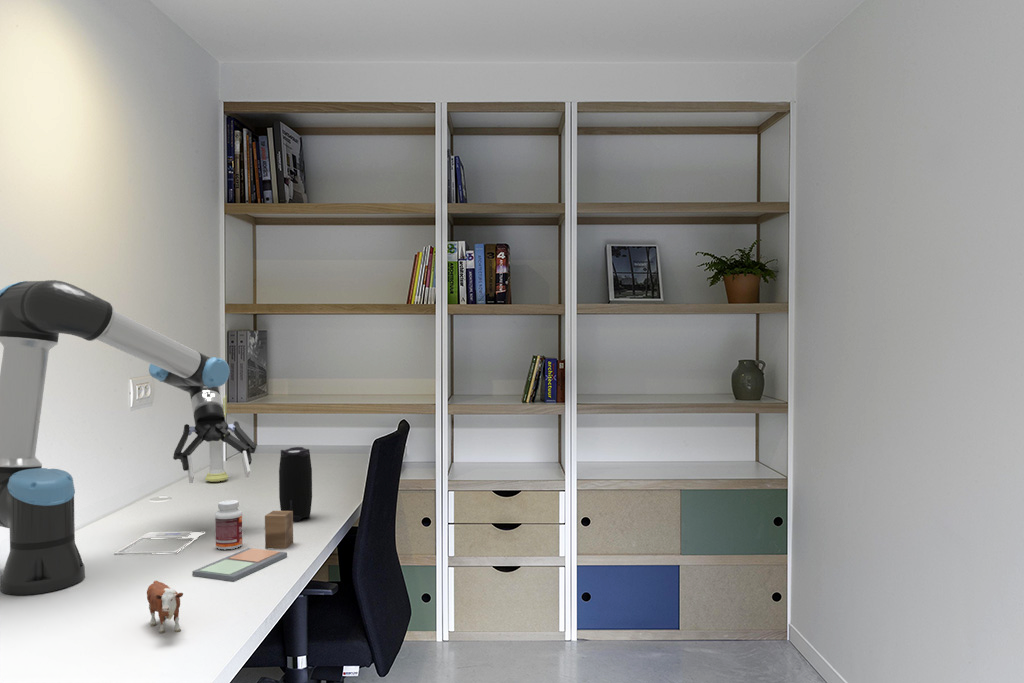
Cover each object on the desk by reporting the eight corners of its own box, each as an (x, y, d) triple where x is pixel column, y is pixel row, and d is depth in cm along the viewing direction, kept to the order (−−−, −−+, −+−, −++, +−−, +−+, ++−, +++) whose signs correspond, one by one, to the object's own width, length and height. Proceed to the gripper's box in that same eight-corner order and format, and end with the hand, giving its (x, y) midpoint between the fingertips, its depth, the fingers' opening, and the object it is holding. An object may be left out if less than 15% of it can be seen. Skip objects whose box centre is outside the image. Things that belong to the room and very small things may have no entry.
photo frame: (205, 530, 197) (176, 551, 179) (205, 534, 197) (176, 555, 179) (149, 531, 197) (114, 552, 179) (149, 535, 197) (114, 556, 179)
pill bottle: (245, 547, 184) (244, 502, 183) (218, 552, 180) (218, 506, 180) (239, 541, 189) (238, 498, 189) (213, 546, 185) (212, 501, 185)
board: (233, 581, 159) (233, 575, 159) (192, 575, 163) (192, 570, 163) (287, 556, 176) (286, 551, 176) (248, 552, 180) (248, 547, 180)
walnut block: (285, 548, 183) (284, 516, 182) (265, 548, 183) (264, 515, 183) (293, 542, 188) (292, 510, 187) (273, 542, 188) (273, 510, 188)
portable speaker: (292, 513, 217) (292, 445, 216) (319, 516, 213) (318, 447, 213) (272, 520, 209) (271, 450, 209) (299, 524, 205) (298, 452, 205)
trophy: (220, 484, 258) (219, 396, 258) (200, 483, 260) (198, 396, 259) (233, 479, 267) (231, 394, 266) (213, 478, 268) (211, 394, 267)
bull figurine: (160, 644, 128) (159, 596, 128) (144, 619, 139) (143, 575, 139) (187, 637, 131) (186, 590, 131) (170, 613, 142) (169, 570, 141)
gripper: (159, 405, 195) (168, 473, 183) (258, 400, 208) (273, 463, 196) (156, 422, 199) (165, 490, 187) (253, 416, 213) (267, 480, 201)
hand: (220, 477), depth 192 cm, fingers open, 13 cm apart
